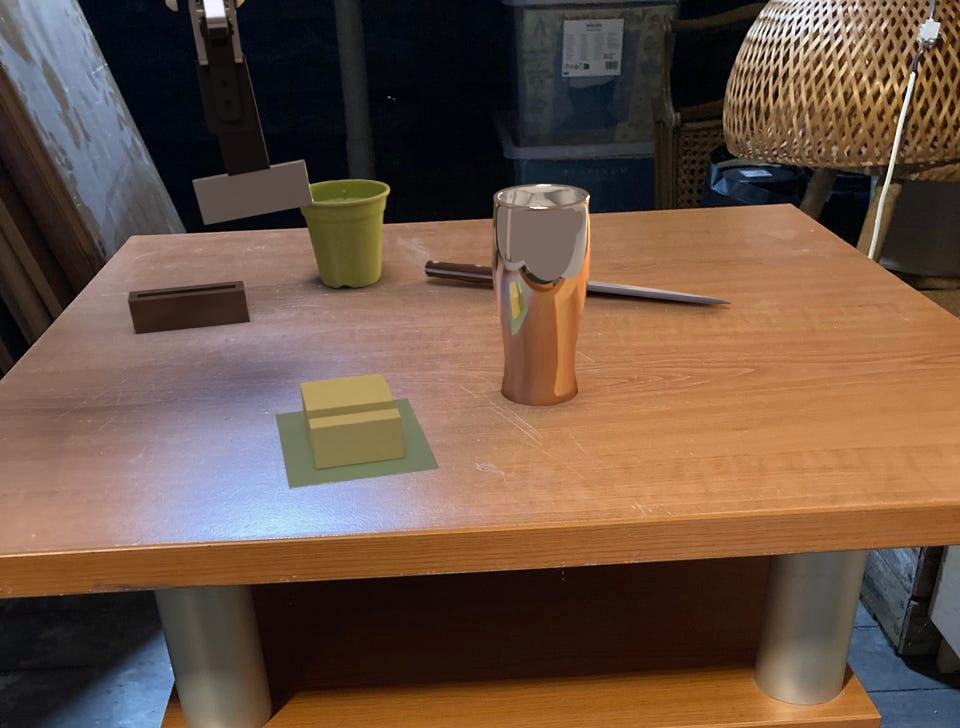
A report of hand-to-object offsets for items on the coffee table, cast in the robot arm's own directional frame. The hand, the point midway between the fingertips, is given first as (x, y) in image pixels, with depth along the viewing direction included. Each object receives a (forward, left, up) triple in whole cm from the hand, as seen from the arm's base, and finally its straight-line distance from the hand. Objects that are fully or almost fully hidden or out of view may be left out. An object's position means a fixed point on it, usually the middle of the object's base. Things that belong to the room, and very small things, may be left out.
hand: (230, 125), depth 69 cm
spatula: (+1, 0, -6) cm, 6 cm away
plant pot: (+10, +26, -19) cm, 34 cm away
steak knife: (+30, +15, -19) cm, 39 cm away
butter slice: (+5, -16, -18) cm, 25 cm away
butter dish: (+5, -13, -19) cm, 24 cm away
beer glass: (+20, -9, -19) cm, 29 cm away
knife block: (-6, +18, -19) cm, 27 cm away
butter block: (+5, -12, -18) cm, 22 cm away
